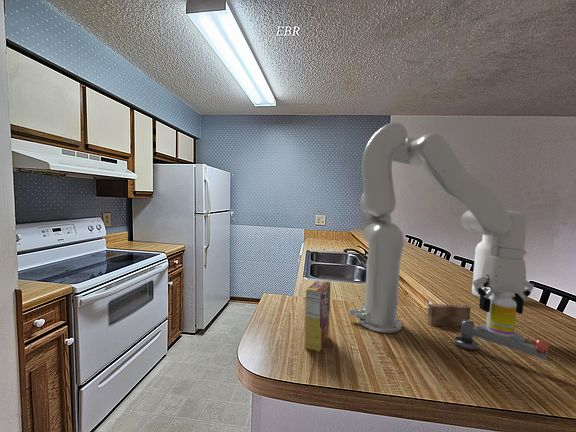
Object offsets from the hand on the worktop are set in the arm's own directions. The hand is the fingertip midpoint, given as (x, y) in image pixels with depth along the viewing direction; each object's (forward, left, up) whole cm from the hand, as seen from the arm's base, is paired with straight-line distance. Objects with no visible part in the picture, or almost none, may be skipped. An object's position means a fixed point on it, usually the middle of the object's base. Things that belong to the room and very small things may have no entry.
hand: (500, 311), depth 81 cm
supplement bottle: (0, 0, -7) cm, 7 cm away
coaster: (0, 0, -7) cm, 7 cm away
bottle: (+21, +35, -7) cm, 42 cm away
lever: (-10, -12, -7) cm, 17 cm away
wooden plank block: (-12, +6, -7) cm, 15 cm away
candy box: (-55, -7, -7) cm, 55 cm away
